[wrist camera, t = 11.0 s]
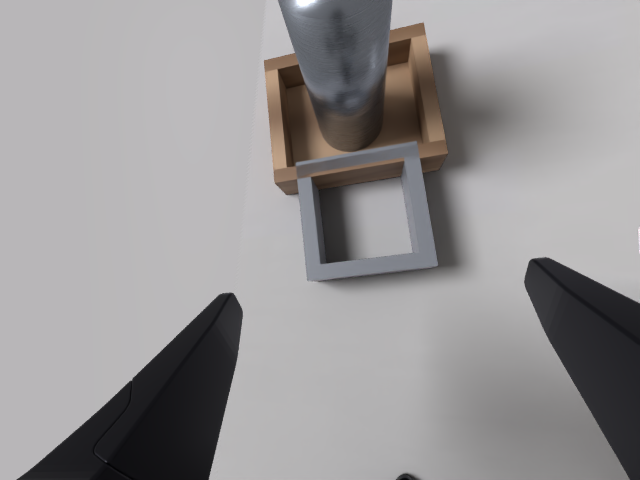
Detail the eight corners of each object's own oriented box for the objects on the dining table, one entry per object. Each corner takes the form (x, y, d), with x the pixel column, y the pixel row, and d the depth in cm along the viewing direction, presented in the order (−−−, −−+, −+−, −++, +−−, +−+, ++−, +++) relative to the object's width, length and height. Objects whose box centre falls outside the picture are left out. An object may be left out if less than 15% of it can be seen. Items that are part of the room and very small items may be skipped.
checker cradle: (429, 268, 22) (438, 265, 19) (315, 281, 23) (307, 280, 21) (411, 158, 24) (416, 140, 21) (304, 176, 25) (295, 162, 22)
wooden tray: (438, 170, 23) (448, 153, 20) (286, 194, 25) (274, 183, 22) (417, 53, 25) (423, 22, 22) (276, 85, 27) (264, 60, 24)
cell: (352, 164, 24) (332, 23, 11) (306, 126, 25) (240, -41, 12) (396, 116, 24) (426, -80, 11) (348, 81, 25) (326, -135, 12)
